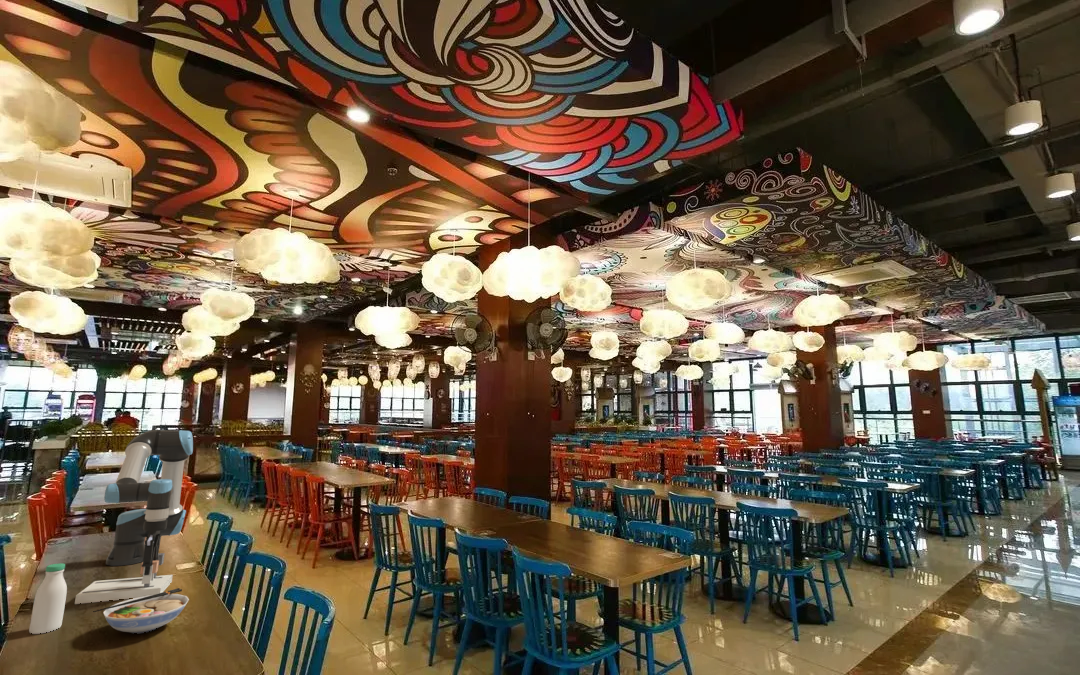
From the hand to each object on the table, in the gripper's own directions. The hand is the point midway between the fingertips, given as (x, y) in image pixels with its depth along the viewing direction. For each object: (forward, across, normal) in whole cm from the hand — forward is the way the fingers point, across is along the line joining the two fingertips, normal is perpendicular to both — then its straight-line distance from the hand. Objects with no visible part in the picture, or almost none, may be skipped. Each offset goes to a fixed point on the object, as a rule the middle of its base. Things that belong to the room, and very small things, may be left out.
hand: (147, 581), depth 199 cm
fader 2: (+2, -12, -1) cm, 12 cm away
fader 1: (+2, 0, 0) cm, 2 cm away
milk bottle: (+5, +28, -20) cm, 35 cm away
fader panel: (+5, -6, -8) cm, 11 cm away
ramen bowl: (+5, +38, +9) cm, 39 cm away
